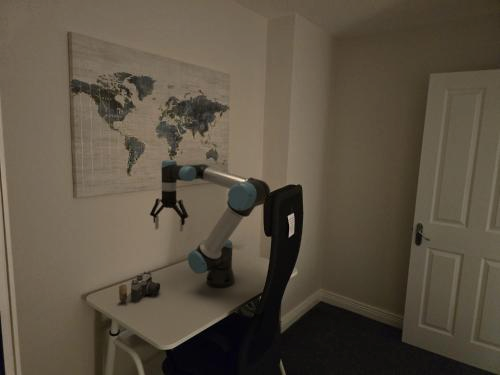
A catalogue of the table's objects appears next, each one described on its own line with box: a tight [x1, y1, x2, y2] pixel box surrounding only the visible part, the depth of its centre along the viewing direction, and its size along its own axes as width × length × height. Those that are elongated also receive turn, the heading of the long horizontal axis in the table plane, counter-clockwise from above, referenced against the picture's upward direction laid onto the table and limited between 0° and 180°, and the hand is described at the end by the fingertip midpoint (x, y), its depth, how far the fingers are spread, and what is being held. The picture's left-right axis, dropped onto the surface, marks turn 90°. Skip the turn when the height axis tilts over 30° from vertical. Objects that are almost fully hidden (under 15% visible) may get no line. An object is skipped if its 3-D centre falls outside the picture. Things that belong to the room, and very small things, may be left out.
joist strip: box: [117, 292, 131, 306], centre depth 156 cm, size 4×17×1 cm, turn 171°
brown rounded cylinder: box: [118, 284, 128, 304], centre depth 149 cm, size 3×3×8 cm
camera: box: [130, 270, 161, 304], centre depth 157 cm, size 16×10×10 cm, turn 171°
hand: (169, 229), depth 173 cm, fingers open, 13 cm apart
